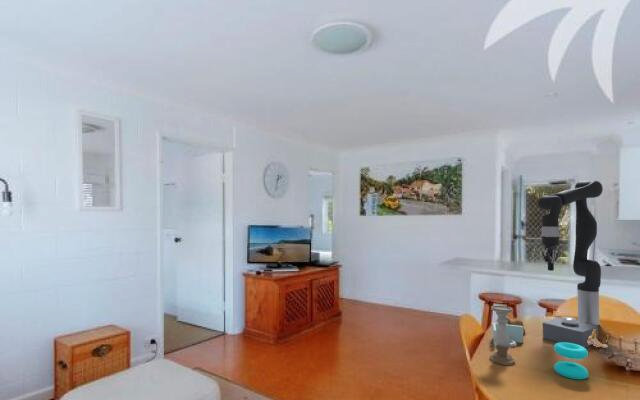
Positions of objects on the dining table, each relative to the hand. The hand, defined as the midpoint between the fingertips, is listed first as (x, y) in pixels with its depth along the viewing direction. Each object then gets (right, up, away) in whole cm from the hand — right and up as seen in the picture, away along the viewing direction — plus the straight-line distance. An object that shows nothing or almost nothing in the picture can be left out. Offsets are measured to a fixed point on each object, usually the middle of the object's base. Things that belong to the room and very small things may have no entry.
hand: (550, 270), depth 183 cm
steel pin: (-2, -27, -17) cm, 32 cm away
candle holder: (-45, -27, -42) cm, 67 cm away
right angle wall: (-33, -29, -23) cm, 49 cm away
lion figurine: (-25, -29, -10) cm, 39 cm away
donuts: (-26, -27, -53) cm, 65 cm away
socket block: (-2, -28, -17) cm, 33 cm away
